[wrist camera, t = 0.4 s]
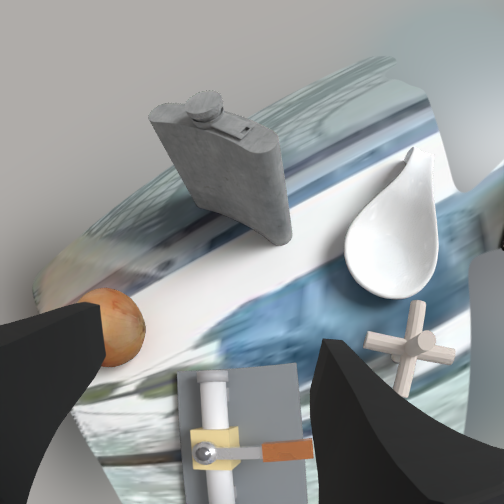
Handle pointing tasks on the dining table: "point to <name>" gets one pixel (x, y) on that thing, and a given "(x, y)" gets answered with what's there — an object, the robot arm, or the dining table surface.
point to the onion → (118, 325)
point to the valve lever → (254, 451)
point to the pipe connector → (410, 348)
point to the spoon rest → (397, 233)
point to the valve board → (241, 433)
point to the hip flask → (227, 163)
